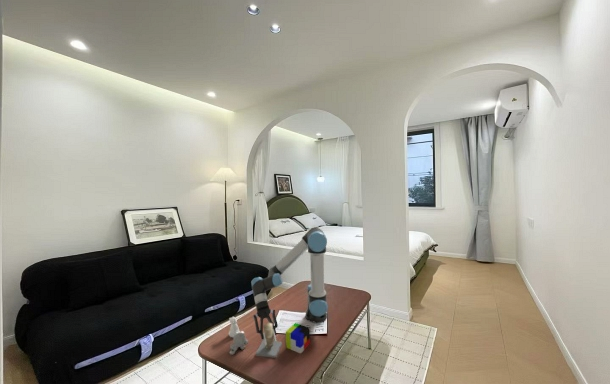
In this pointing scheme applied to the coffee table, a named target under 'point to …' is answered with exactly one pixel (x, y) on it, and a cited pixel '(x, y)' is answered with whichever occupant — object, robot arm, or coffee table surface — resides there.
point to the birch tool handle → (268, 334)
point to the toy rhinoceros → (238, 343)
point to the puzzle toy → (297, 337)
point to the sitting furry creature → (234, 327)
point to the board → (269, 350)
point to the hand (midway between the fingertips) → (270, 343)
